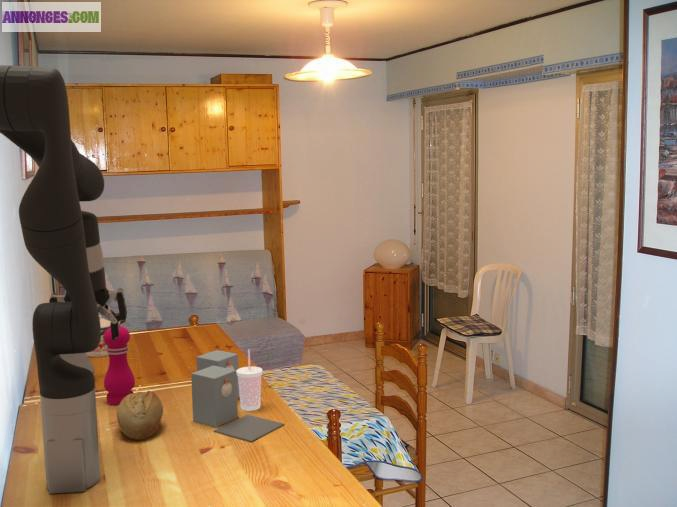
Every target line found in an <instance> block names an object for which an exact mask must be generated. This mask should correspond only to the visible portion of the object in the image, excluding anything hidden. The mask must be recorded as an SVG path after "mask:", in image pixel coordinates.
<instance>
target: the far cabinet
mask: <svg viewBox="0 0 677 507" xmlns="http://www.w3.org/2000/svg"><path fill="white" fill-rule="evenodd" d="M213 365H214V366H218V367H223V368H228V369H233V370H237V369H239V368H240V367H239V354H238V353H233V352H231V351H230V352H229V351H224V350H219V349H216V350H213V351H210V352H207V353H204V354H201V355H198V356H196V372H197V371H199V370H202V369H205V368H208V367H210V366H213ZM236 374H237V372H236ZM238 399H240V393H239V383H238V376H237V400H238Z"/></svg>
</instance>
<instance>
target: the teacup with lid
mask: <svg viewBox="0 0 677 507" xmlns="http://www.w3.org/2000/svg"><path fill="white" fill-rule="evenodd" d="M99 318H100V326H101V331H103V330H105V329H106V328H108V327H109V326H110V324H111V322H110V321H109V320H108V319H107V318H106V319H105V318H103V317H102V314H101V315H100V314H99ZM107 347H108V345H107V344H106V343H105V342H104V335H102V336H101V337H100V342H99V345H98V347H97V348H96V349H95V350H93V351H91V352H87V353H86V354H87V356H88V358H89V357H91V358H100V357H101V358H102V357H107V356H108V357H109V354H108V353H107Z"/></svg>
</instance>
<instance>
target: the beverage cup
mask: <svg viewBox="0 0 677 507" xmlns="http://www.w3.org/2000/svg"><path fill="white" fill-rule="evenodd" d="M247 361H248V362H247V365H248V366H243V367H239V369H237V370H236V372H237V376H238V383H239V403H240V409H241V410H243V411H249V412H250V411H256V410H259V409H260V408H261V394H262V376H263V372H264V371H263V368H262V367H259V366H251V349H250V348H248V349H247Z"/></svg>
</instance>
